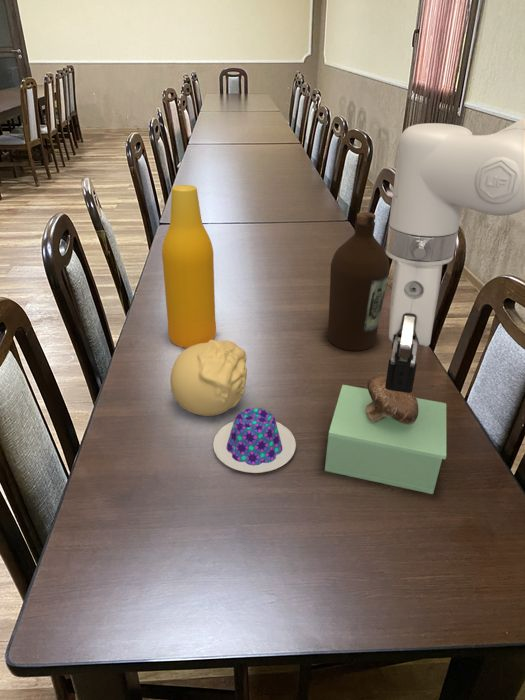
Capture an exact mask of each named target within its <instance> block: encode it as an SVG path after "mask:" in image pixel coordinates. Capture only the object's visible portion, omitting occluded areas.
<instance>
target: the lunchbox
mask: <svg viewBox="0 0 525 700" xmlns="http://www.w3.org/2000/svg"><path fill="white" fill-rule="evenodd" d="M325 453H326V454H325V462H324V472H327V473H333V474H337V475H341V476H347V477H351V478H356V479H360V480H365V481H369V482H375V483H379V484H384V485H386V486H387V485H388V486H393V487H397V488H402V489H407V490H409V491H410V490H411V491H416V492H420V493H424V494H429V495H433V494H434V492H435V488H436V485H437V481H438V476H439V472H440V469H441V466H442V462H443V459H440V458H435V457H431V456H426V455H421V454H416V453H411V452H406V451H401V450H396V449H391V448H386V447H381V446H377V445H372V444H367V443H362V442H357V441H352V440H347V439H342V438H337V437H332V436H327V445H326V452H325Z"/></svg>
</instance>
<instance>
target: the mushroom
mask: <svg viewBox="0 0 525 700" xmlns="http://www.w3.org/2000/svg"><path fill="white" fill-rule="evenodd" d="M386 378H387V375H376V376H373V377H371V378H370V379H369V380H368V381H367V384H366V387H367V388H366V389H368V392H369V394H370V397H371V399H372V403H370V404H369V405H367V406H366V414H367V416H368V418H369V419H370V420H371V421H372V422H375V423H376V422H379V421H380V420H382V419H384V418H386V417H390V418H393V419H395V420H397V421H399V422H400V423H403V424H407V425H410V424H412V423H414V422H415V421H416V419H417V416H418V403H417V399H416V398H417V397H416V396H415V394H414V393H413V391H412V392H411V393H405V392H399V391H393V390H387V389H386V388H385V385H386Z"/></svg>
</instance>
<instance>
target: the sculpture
mask: <svg viewBox="0 0 525 700" xmlns="http://www.w3.org/2000/svg"><path fill="white" fill-rule="evenodd" d="M246 363H247V353H246V351H245V350H244V349H243V348H241V347H240V346H239V345H238V344H237V343H235V342H233V341H232V340H219V341H218V340H215V339H213V340H210V341H209V342H207V343H200V344H196V345H193V346H191V347H189V348H185V349H184V350H182V351H181V353H180V354H179V355H178V356H177V358H176V359H175V361H174V363H173V365H172V368H171V373H170V379H169V381H170V389H171V393H172V395H173V398H174V399H175V401H176V403H177V404H178V405H179V406H180V407H181V408H182V409H184V410H185V411H187V412H189V413H191V414H194V415H198V416H203V417H214V416H219V415H221V414H224V413H226V412H227V411H229V410H230V409H233V408H235V407H236V406H237V404H238V403H239V402H240V401H241V399H242V397H243V395H244V394H245V393H246V389H245V388H244V387H246V384H247V377H248V375H247V374H248V369H247V367H246V366H247V365H246Z"/></svg>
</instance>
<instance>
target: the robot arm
mask: <svg viewBox="0 0 525 700" xmlns="http://www.w3.org/2000/svg"><path fill="white" fill-rule="evenodd" d="M395 165H396V166H395V171H394V172H395V173H394V178H393V179H394V180H393V190H392V196H391V198H392V199H391V206H390V212H389V213H390V214H389V220H388V221H389V222H388V228H387V229H388V230H387V236H386V237H387V238H386V245H385V252H386V254H387V256H388V258H390V259H391V260H393V261H394V266H393V275H392V276H393V277H392V283H391V284H392V285H391V292H390V303H389V304H390V305H389V323H388V340H389V341H390V342H391V358H389V359H388V365H387V371H386V376H387V378H386V385H385V388H386V389H387V390H393V391H399V392H405V393H411V392H412V393H413V387H414V382H415V377H416V371H417V363H416V359H417V351H418V345H419V346H424V348H426V347H428V346H430V345H431V341H432V334H433V328H434V324H435V323H434V322H435V316H436V311H437V305H438V299H439V293H440V287H441V282H442V281H441V279H442V273H443V265H447V264H449V263H451V262H452V261H453V260H454V255H455V250H456V246H457V245H456V244H457V238H458V234H459V228H460V223H461V218H462V213H463V208H466V209H469V210H472V211H475V212H477V213H481V214H485V215H489V216H490V215H491V216H496V217H501V216H502V217H503V216H510V215H515V214H517V213H520V212H522V211H524V210H525V116H524V117H522V118H521V119H519V120H517V121H516V122H513V123H512V124H510V125H508V126H506V127H505V128H503V129H500V130H499V131H497V132H494V133H490V134H473V131H471V130H470V129H469V128H467V127H465V126H462V125H456V124H453V123H452V124H451V123H442V122H441V123H439V122H438V123H437V122H431V123H430V122H428V123H426V122H425V123H418V124H413V125H410V126H408V127H406V128H405V129H404V131H402V133H401V135H400V138H399V142H398V146H397V154H396V164H395Z"/></svg>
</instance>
